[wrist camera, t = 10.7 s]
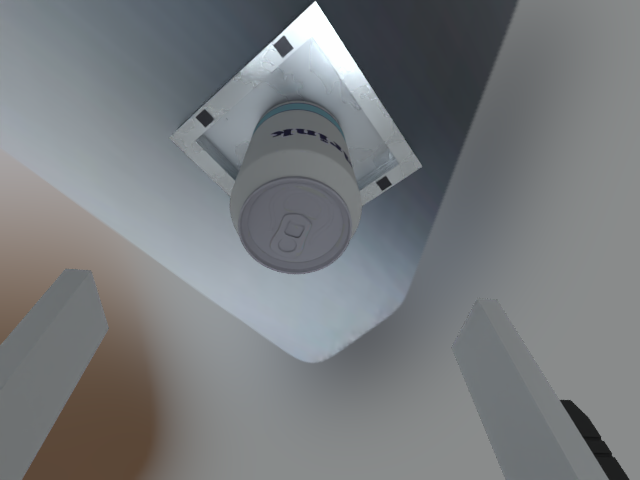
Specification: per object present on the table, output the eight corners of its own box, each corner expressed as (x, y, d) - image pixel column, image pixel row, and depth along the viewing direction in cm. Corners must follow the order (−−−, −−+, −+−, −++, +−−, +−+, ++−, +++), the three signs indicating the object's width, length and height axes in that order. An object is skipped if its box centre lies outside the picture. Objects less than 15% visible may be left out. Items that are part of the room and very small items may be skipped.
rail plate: (177, 128, 27) (168, 138, 25) (314, 0, 22) (315, 1, 21) (290, 240, 33) (289, 254, 31) (415, 156, 28) (422, 166, 27)
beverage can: (359, 119, 26) (392, 194, 16) (323, 196, 30) (332, 297, 20) (269, 80, 25) (246, 139, 15) (242, 168, 28) (208, 262, 18)
